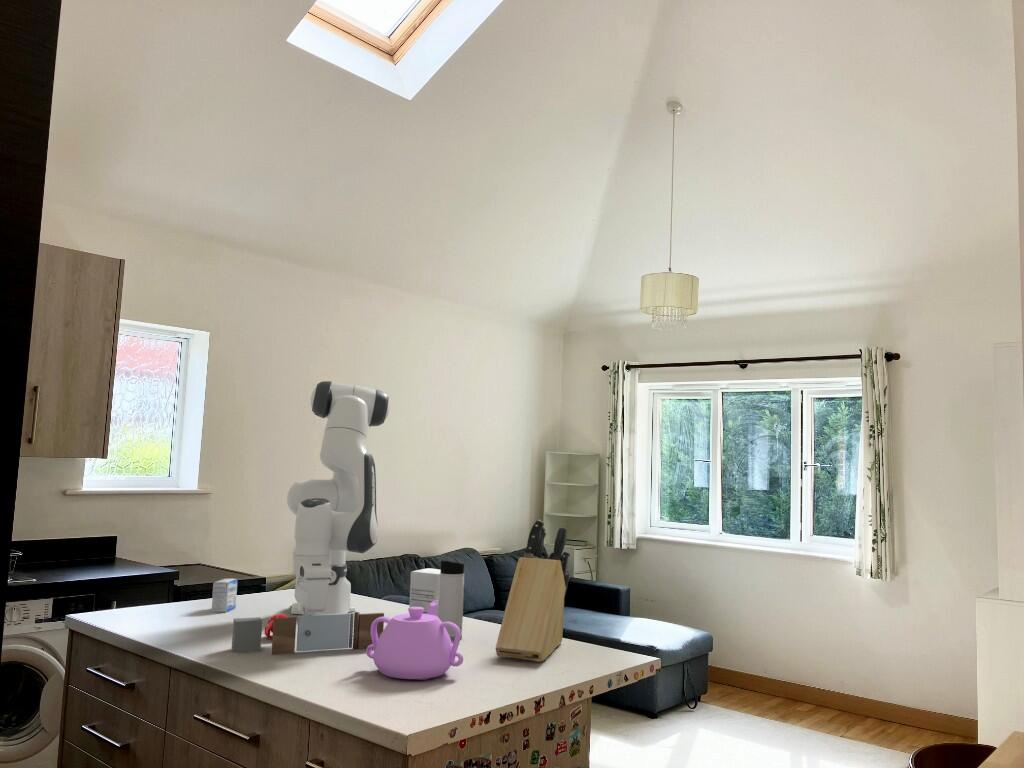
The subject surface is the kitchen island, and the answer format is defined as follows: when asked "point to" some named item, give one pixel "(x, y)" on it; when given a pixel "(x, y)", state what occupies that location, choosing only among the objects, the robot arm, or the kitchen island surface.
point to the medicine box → (224, 595)
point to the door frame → (287, 632)
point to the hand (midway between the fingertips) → (307, 625)
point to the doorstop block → (246, 634)
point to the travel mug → (451, 595)
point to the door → (324, 631)
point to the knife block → (535, 600)
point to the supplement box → (425, 588)
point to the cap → (270, 625)
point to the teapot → (414, 645)
